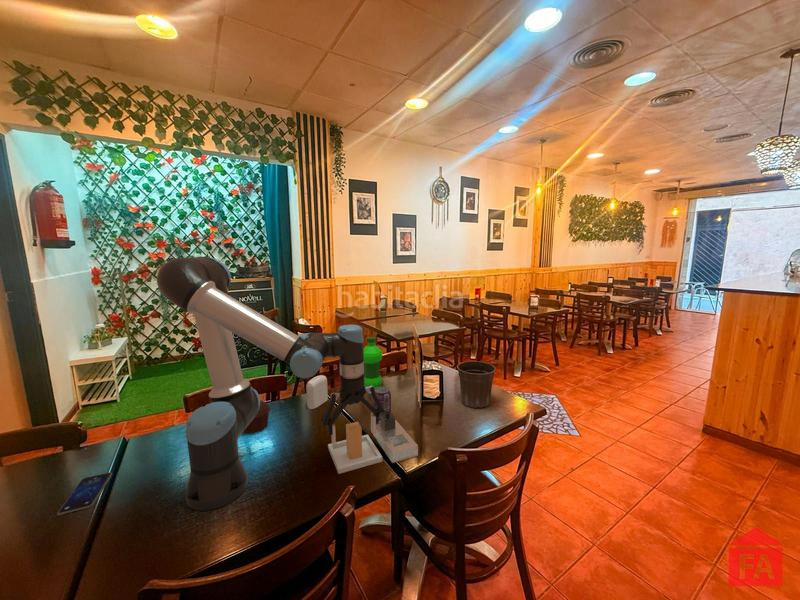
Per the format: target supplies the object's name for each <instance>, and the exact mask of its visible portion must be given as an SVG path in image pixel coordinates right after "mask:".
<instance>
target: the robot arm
mask: <svg viewBox="0 0 800 600" xmlns="http://www.w3.org/2000/svg"><path fill="white" fill-rule="evenodd" d="M231 283H232V275H231V271H230V269H229V268H228V266H227V265H226V264H225V263H224V262H222V261H221V260H220V259H217V258H214V257H210V256H209V257H208V256H194V257H193V256H192V257H176V258H173V259H170V260H168V261H167V262H165V263H164V264H163V265H162V266H161V267H160V268H159V270H158V272H157V275H156V285H157V288H158V290H159V291H160V293H161V294H162V296H163V297H164V298H165V299H166V300H168V301H169V302H171V303H172V304H173V305H175V306H177V307H179V308H180V309H181V310H184V312H187V313H188V314H193V317H194V321H195V324H196V328H197V333H198V336H199V340H200V344H201V347H202V351H203V356H204V359H205V364H206V367H207V371H208V375H209V377H210V382H211V386H212V388H211V390H210V391H209V393H208V398H209V402H210V403H207V404H205V406H200V407H198V408H196V409H195V410H193V411H192V413H191V414H190V415H189V416H188V418H187V419H186V425H185V427H186V429H185V438H186V441H187V449H188V450H187V451H188V458H189V467H190V473H189V477H188V481H187V485H186V489H185V493H184V494H185V495H184V497H185V503H186V505H187V507H188V508H189V509H192V510H194V511H200V512H202V511H203V512H204V511H210V510H216V509H218V508H222V507H224V506H226V505H229V504H230V503H232V502H233V501H235V500H236V499H238V498H239V497H240V496H241V495H242V494H243V493H244V492H245V490H246V489H247V487H248V483H249V479H248V478H249V477H248V472H247V470H246V468H245V466H244V465H243V462H242V461H241V459H240V455H239V454H240V453H239V443H238V440H239V438H240V437H241V436H242V434H243V433H244V430H245V429H246V428H247V426H248V425H249V424H250V423H251V422H252V421H253V419H254V418H255V416H256V415H257V412H258V411H259V408H260V400H261V397H260V394H259V393H258V391H257V390H256V389H255V388H253V387H252V385H251V382H250V381H249V380H247V379H245V378H244V375H243V371H242V368H241V367H242V366H241V363H240V360H239V355H238V352H237V351H238V350H237V347H236V343H235V339H234V336H233V335H236V336H238V337H240V338H241V339H244V340H246V341H247V342H249V343H251V344H253V345H254V346H257V347H258V348H259V349H261V350H264V351H265V352H267V353H268V354H270V355H271V356H274V357H275V358H277V359H279V360H281V361H283V362H285V363H286V364H288V365H289V368H290V370H291V372H292V373H293V374H294V375H295V376H296V377H298V378H300V379H309V378H311V377H313V376H315V375H316V374H317V373H318V372H319V370H320V369H321V368H322V366H323V363H324V361H325V360H326V358H329V359H330V358H338V359H339V375H340V376H339V386H340V388H339V392H334V391H330V395H329V399H328V401H327V405H326V406H325V407H326V408H325V410H324V412H323V414H322V416H321V417H322V418H321V420H320V421H321V423H322V426H324V427H325V426H327V433H328V435H329V436H331V438H330V439H331V443H333V446H335V445H336V442H337V438H336V436H337V435H336V425H335V422H336V420H337V419H338V418H339V417H340V415H341V414H342V411H344V409H346V407H347V406H351V405H353V404H356V405H357V404H359V403H360V402H361V403H363V404H364V405H365V406H366V408H367V409H369V410H370V411H371V413H370V432H371V433H372V435H373V437H374V436H375V435H376V424H378V417H379V415H380V414H379V413H383V412H384V409H383V408H382V406H381V404H380V402H379V400H378V398H377V396H376V395H375V389H374V387H373V386H372V385H369V386H368V387H365V386H364V385H365V384H364V348H365V346H364V344H365V343H364V332H363V327H361V326H360V325H357V324H344V325H341V326H339V327H338V329H337V330H338V331H337V332H307V333H301V334H300V335H297V334H296V333H295V332H293V331H291V330H289V329H287V328H285V327H284V326H282V325H281V324H279V323H277V322H275V321H273V320H272V319H270V318H268V317H266V315H264V314H261V313H259V312H258V311H256V310H254V309H253V308H251V307H250V306H248V305H246V304H244V303H242V302H241V301H240V300H237V299H236V298H234V297H233V296H231V295H229V291H228V290H229V289H228V288H229V287H230V285H231ZM367 393H368V394H369V395H370V397H371V398H372V399H371V400H372V401H373V400H374V402H375V404H376V406H377V409H375V408H374V407H373V404H371V403H370V402H369V401H368V400H367V399H366V398H365V397H364V396H365V394H367ZM339 397H340V398H341V399H339V403H338V404H337V406H336V407H335V404H336V402H337V400H338V398H339Z"/></svg>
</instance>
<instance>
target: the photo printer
mask: <svg viewBox="0 0 800 600" xmlns="http://www.w3.org/2000/svg"><path fill="white" fill-rule="evenodd" d="M305 387H306V388H305V389H306V404H307V405H306V406H307V408H308V409H309V410H314V409H316V408H319V407H320V406H321V405H323V404H325V403H326V402H328V401H329V399H328V398H329V394H328V390H329V389H328V379H327V376H326V375H323V374H322V375H317V376H315V377H313V378H311V379H310V380H308V381H307V383H306V385H305Z"/></svg>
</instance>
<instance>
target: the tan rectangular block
mask: <svg viewBox="0 0 800 600" xmlns="http://www.w3.org/2000/svg"><path fill="white" fill-rule="evenodd" d="M362 430H363V429H362V426H361V424H360V423H359V421H355V422H350V423H346V424H345V436H346V437H345V440H346V444H347V454H348V456H349V459H350V460H351V459H355V458H359V457H362V436H363V432H362Z"/></svg>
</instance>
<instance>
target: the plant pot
mask: <svg viewBox="0 0 800 600" xmlns="http://www.w3.org/2000/svg"><path fill="white" fill-rule="evenodd" d="M456 368H457V371H458V377H459V384H460V385H459V386H460V398H461V402H462V404H463V405H465V406H466V407H469V408H472V409H473V408H474V409H477V408H479V409H484V408H487V407H488V406H490V405H491V397H492V390H493V380H494V378H495V373H496V369H497V368H496V365H495V366H494V365H493V364H492V363H489V362H485V361H479V360H478V361H477V360H469V361H468V360H467V361H463V362H459V363H458V364H457V365H456ZM486 406H487V407H486ZM483 407H484V408H483Z"/></svg>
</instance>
